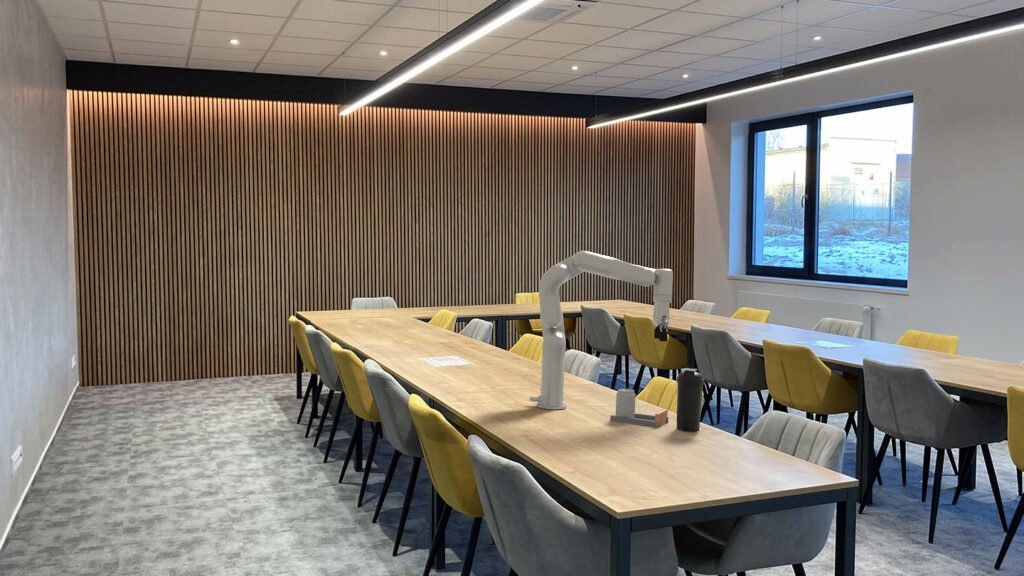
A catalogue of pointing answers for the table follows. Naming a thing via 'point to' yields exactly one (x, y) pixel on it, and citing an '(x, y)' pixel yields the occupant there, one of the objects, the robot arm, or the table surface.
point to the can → (625, 403)
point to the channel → (644, 419)
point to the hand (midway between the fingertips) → (660, 339)
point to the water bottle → (689, 400)
